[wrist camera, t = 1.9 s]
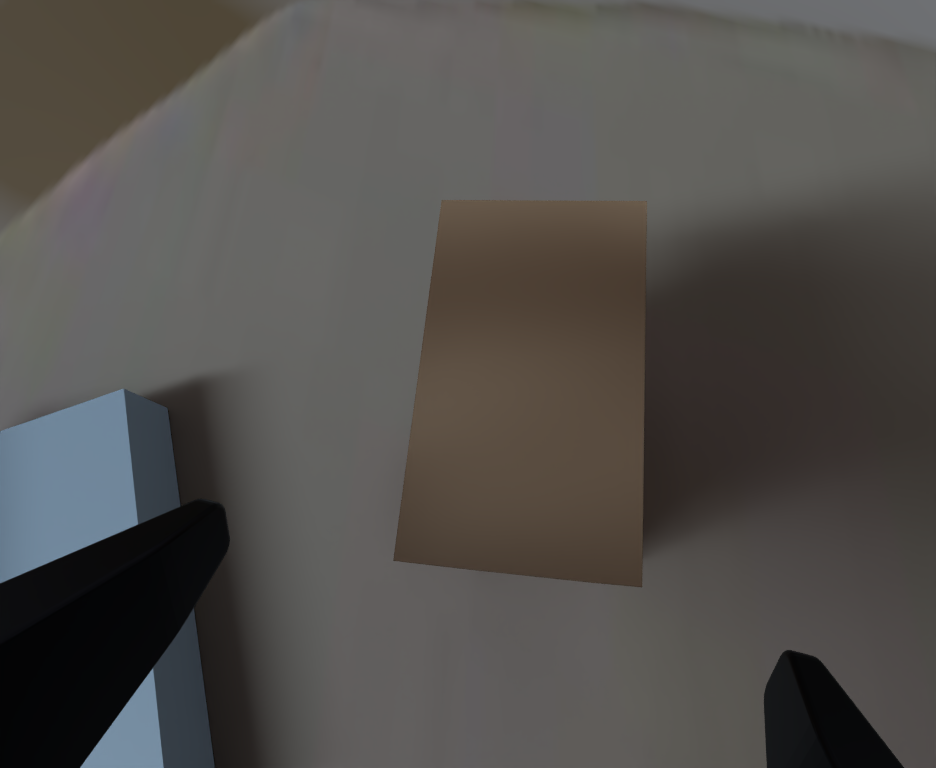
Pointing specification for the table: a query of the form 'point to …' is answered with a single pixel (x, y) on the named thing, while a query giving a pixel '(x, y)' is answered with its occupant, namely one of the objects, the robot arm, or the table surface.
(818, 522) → the table surface
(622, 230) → the frame block
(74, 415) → the picture shelf
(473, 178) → the table surface
